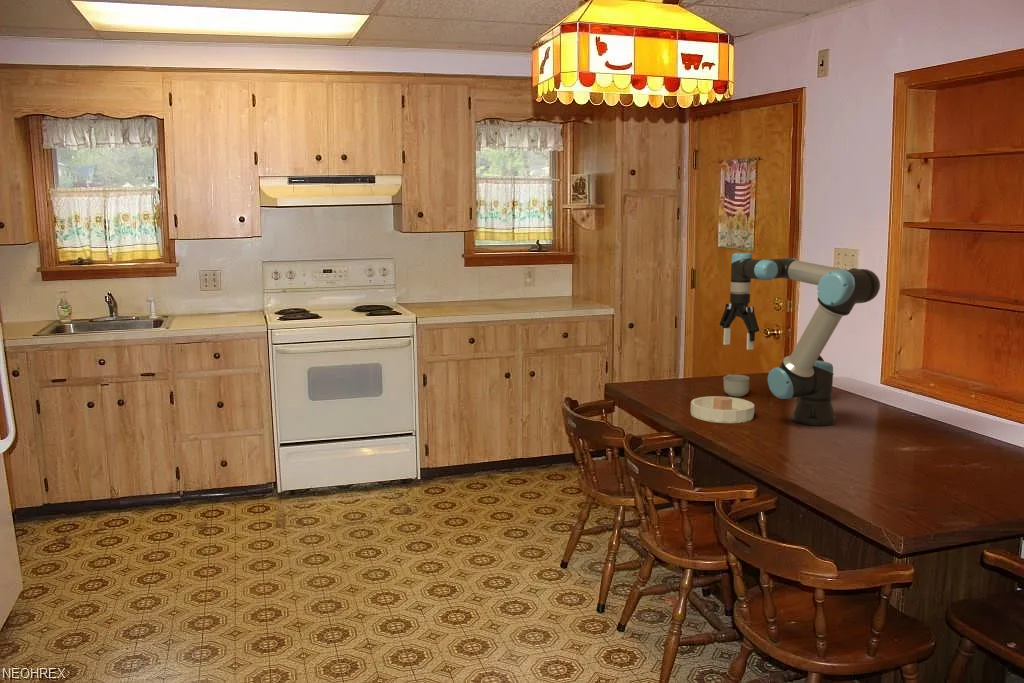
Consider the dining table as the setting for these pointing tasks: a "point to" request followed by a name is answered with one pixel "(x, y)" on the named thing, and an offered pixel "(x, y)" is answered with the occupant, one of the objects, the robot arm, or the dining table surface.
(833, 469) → the dining table surface
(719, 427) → the dining table surface
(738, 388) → the teacup
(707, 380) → the dining table surface
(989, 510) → the dining table surface
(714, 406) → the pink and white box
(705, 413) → the bowl
